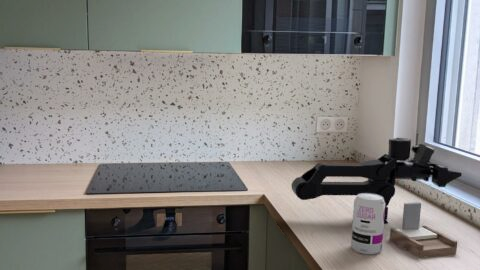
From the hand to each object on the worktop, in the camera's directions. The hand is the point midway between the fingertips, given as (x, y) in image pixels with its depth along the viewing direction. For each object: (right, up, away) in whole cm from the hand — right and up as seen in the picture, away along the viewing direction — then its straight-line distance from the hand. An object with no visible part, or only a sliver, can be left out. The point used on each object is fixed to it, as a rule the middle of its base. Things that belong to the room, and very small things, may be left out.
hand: (453, 171), depth 172 cm
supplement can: (-35, -20, -27) cm, 48 cm away
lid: (-19, -17, -20) cm, 33 cm away
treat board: (-18, -20, -23) cm, 35 cm away
